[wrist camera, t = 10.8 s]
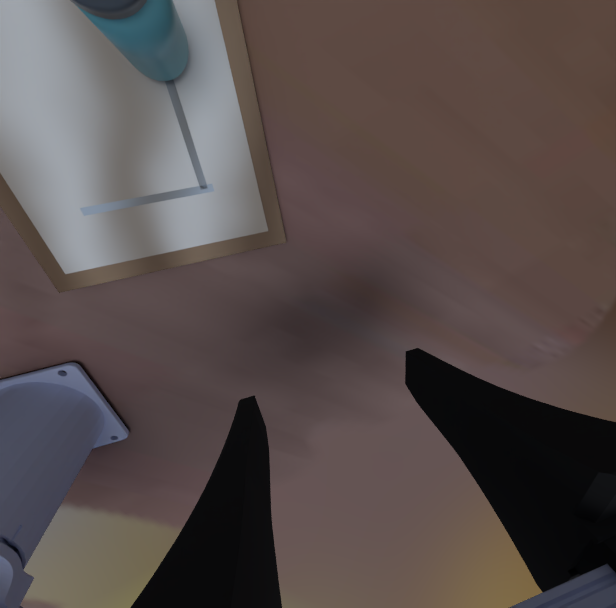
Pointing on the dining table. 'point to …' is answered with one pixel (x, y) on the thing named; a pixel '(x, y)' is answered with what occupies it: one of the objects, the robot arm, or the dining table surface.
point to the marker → (142, 33)
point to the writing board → (130, 146)
